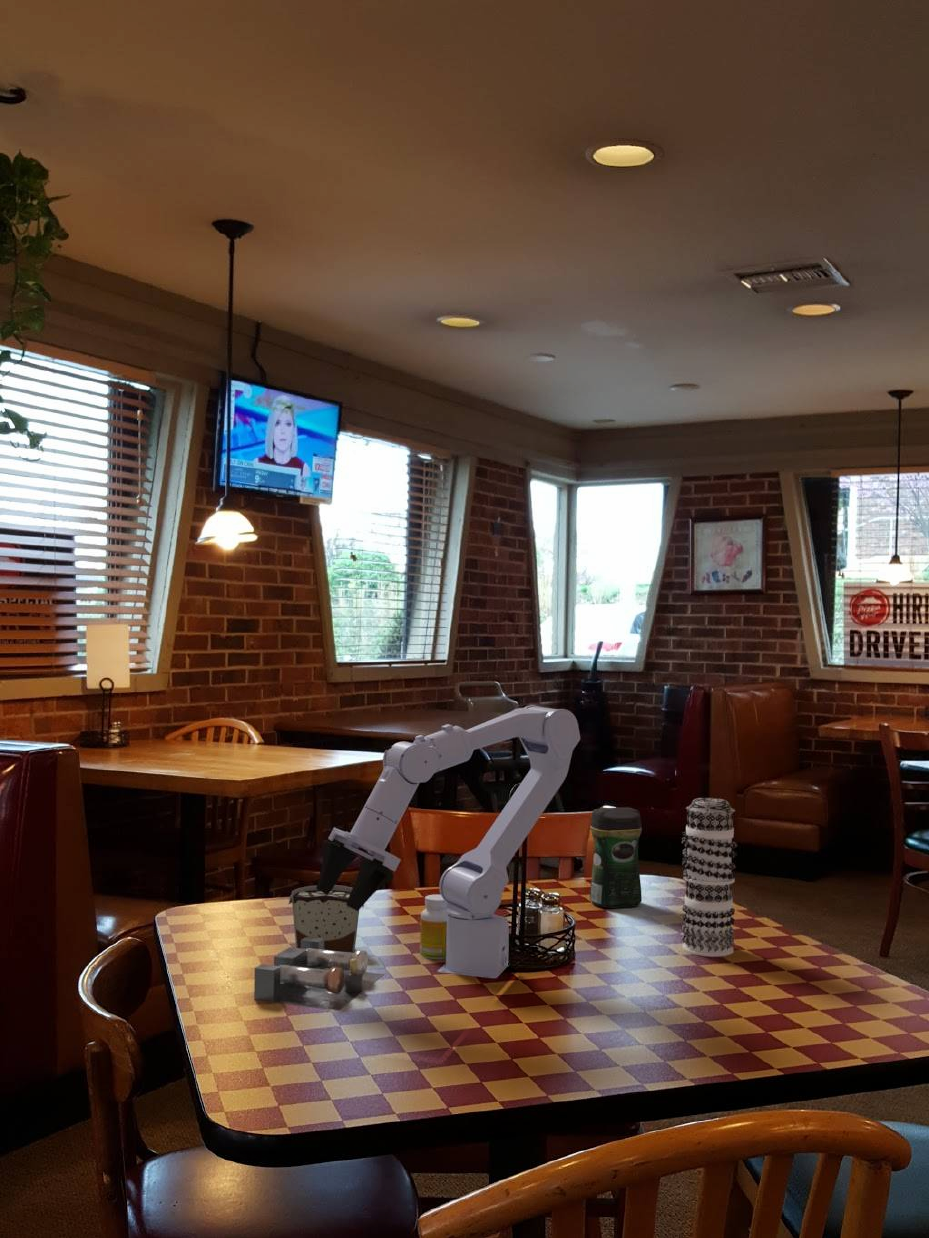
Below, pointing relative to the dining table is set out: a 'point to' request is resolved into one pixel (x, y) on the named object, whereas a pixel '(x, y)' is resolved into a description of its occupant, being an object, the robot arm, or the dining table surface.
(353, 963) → the potentiometer
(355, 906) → the robot arm
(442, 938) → the supplement bottle
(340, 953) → the silver long cylinder
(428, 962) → the dining table surface
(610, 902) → the coffee jar
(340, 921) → the food container
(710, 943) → the decorative candle
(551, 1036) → the dining table surface
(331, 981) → the copper-capped metal rod
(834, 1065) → the dining table surface
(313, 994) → the mount
